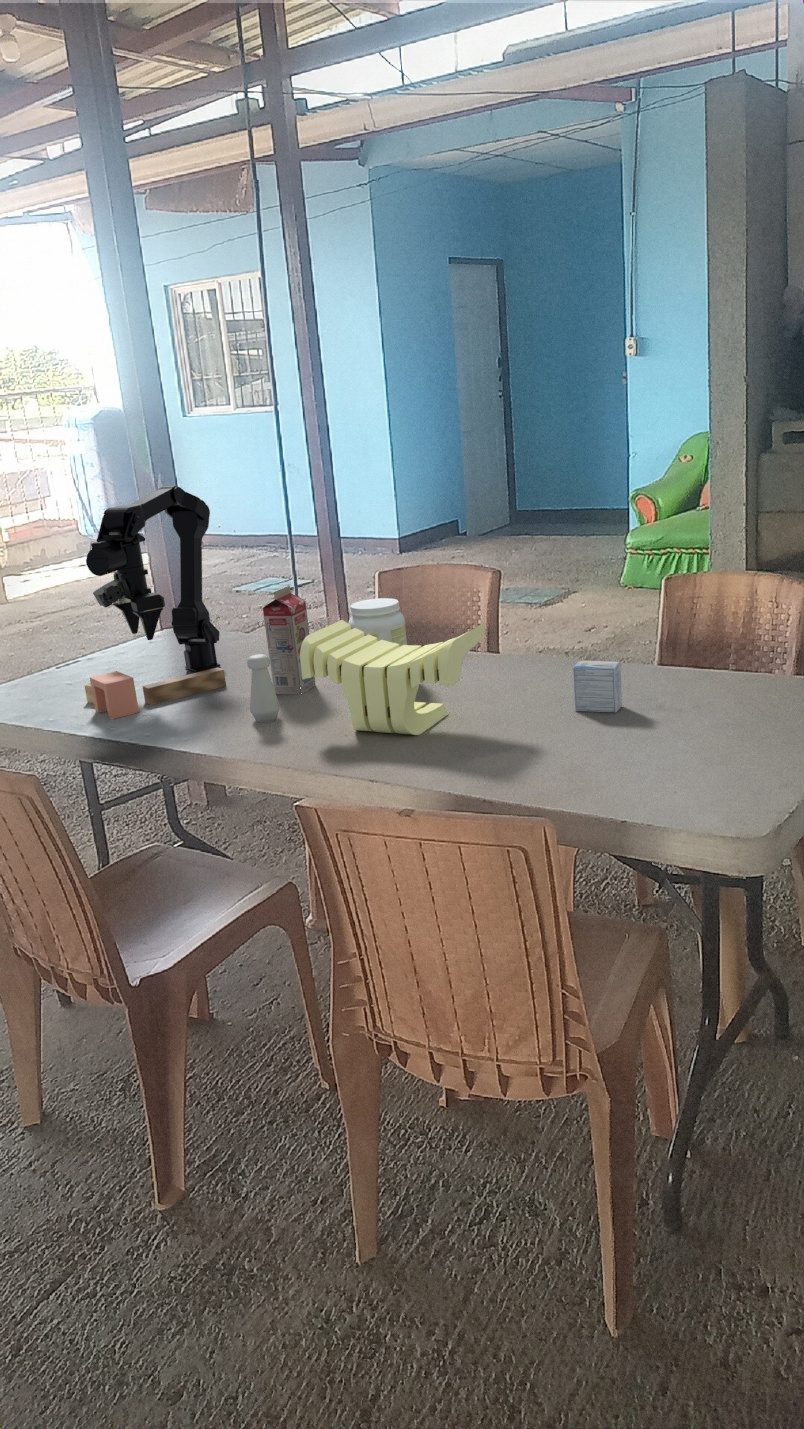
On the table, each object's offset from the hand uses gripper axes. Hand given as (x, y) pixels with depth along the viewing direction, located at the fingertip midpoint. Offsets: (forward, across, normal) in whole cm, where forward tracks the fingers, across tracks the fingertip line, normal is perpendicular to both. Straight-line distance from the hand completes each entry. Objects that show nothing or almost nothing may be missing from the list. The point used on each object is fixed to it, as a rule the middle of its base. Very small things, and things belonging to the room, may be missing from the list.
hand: (142, 636), depth 236 cm
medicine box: (+13, +85, +54) cm, 101 cm away
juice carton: (+13, +25, +23) cm, 36 cm away
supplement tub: (+13, +34, +39) cm, 54 cm away
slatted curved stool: (+13, +63, +24) cm, 69 cm away
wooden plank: (+13, +8, +5) cm, 16 cm away
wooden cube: (+13, -4, -11) cm, 17 cm away
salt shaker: (+13, +40, +8) cm, 42 cm away
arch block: (+13, +8, -11) cm, 19 cm away
